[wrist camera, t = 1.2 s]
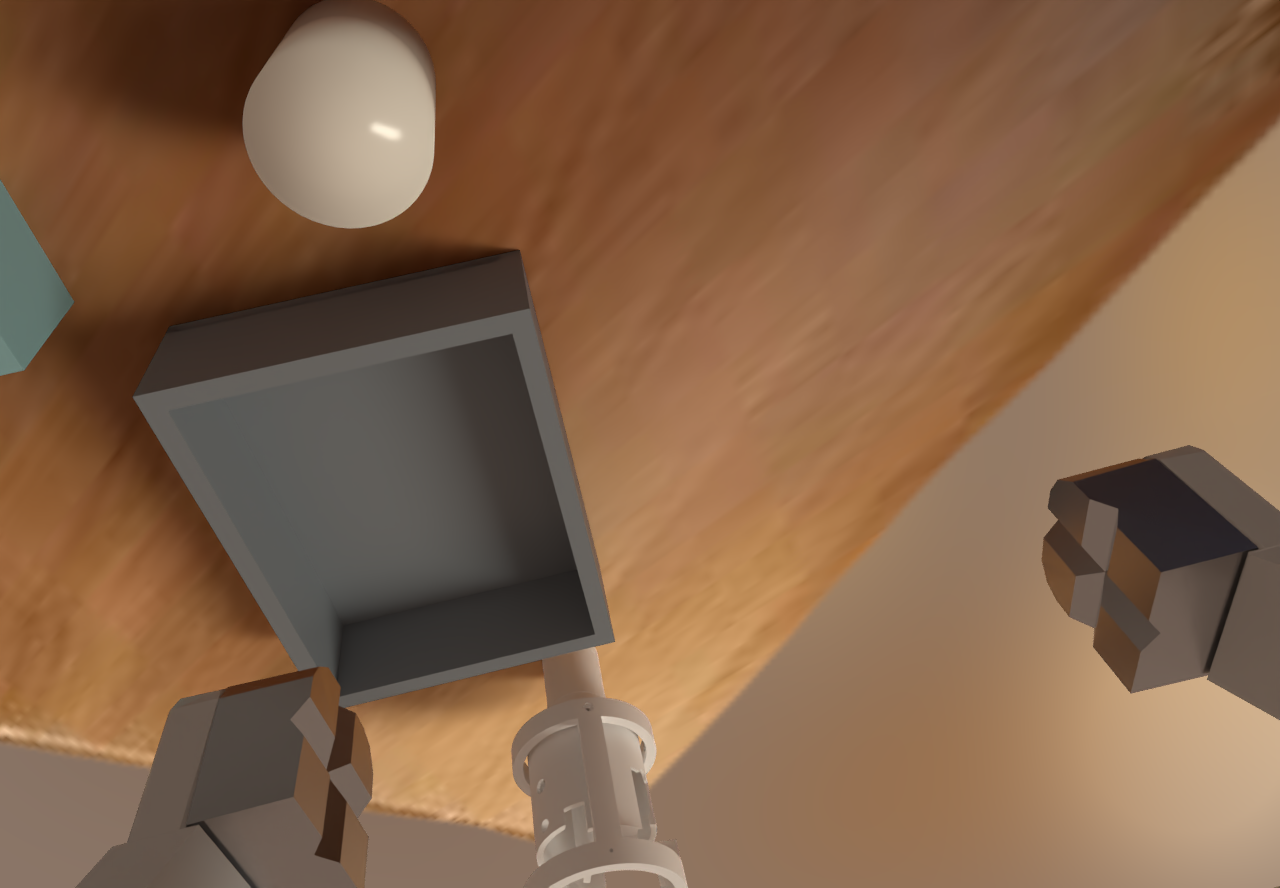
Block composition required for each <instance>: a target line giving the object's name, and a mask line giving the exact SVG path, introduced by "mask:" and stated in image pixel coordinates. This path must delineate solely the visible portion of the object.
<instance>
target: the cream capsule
mask: <svg viewBox="0 0 1280 888" xmlns="http://www.w3.org/2000/svg"><path fill="white" fill-rule="evenodd" d="M435 101H436V78H435V70H434V66H433V62H432V59H431V56H430V53H429V51H428V49H427V47H426V45H425V43H424V41H423V40H422V38H421V37H420V35H419V34H418V32H417V31H416V30H415V29H414V27H413V26H412V25H411V24H410V23H409V22H408V21H407V20H406V19H405V18H403V17H402V16H401V15H400V14H398V13H397V12H396V11H394V10H392V9H391V8H389V7H387V6H386V5H383V4H381V3H379V2H376V1H374V0H323V1H321V2H319V3H316V4H314V5H313V6H311V7H310V8H308V9H307V10H305V11H304V12H303V13H302V14H301V15H300V16H299V17H298V18H297V19H296V21H295V22H294V23H293V24H292V26H291V27H290V29H289V30H288V32H287V33H286V35H285V36H284V38H283V39H282V41H281V42H280V43H279V45H278V46H277V48H276V49H275V51H274V52H273V54H272V55H271V57H270V58H269V60H268V61H267V63H266V64H265V66H264V67H263V69H262V70H261V71H260V73H259V74H258V76H257V77H256V79H255V81H254V82H253V84H252V86H251V88H250V90H249V93H248V95H247V98H246V101H245V106H244V110H243V123H242V125H243V137H244V141H245V146H246V150H247V153H248V156H249V158H250V161H251V163H252V165H253V167H254V169H255V171H256V173H257V174H258V176H259V177H260V179H261V180H262V182H263V183H264V184H265V186H266V187H267V188H268V189H269V190H270V192H271V193H272V194H273V195H274V196H275V197H276V198H278V199H279V200H280V201H281V202H282V203H283V204H285V205H286V206H287V207H289V208H290V209H291V210H293V211H295V212H296V213H298V214H300V215H301V216H303V217H306V218H308V219H310V220H312V221H315V222H318V223H321V224H324V225H328V226H333V227H339V228H363V227H370V226H374V225H378V224H381V223H384V222H386V221H388V220H391V219H393V218H394V217H396V216H398V215H399V214H401V213H402V212H404V211H405V210H406V209H407V208H409V207H410V206H411V205H412V204H413V203H414V201H415V200H416V199H417V198H418V197H419V195H420V194H421V192H422V191H423V189H424V187H425V185H426V183H427V181H428V179H429V176H430V173H431V170H432V165H433V160H434V140H435Z"/></svg>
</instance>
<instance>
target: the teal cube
mask: <svg viewBox="0 0 1280 888" xmlns="http://www.w3.org/2000/svg"><path fill="white" fill-rule="evenodd" d="M73 303H74V301H73V299H72V297H71V296H70V294H69V293H68V291H67V289H66V288H65V286H64V284H63V283H62V281H61V279H60V278H59V276H58V274H57V273H56V271H55V269H54V268H53V266H52V264H51V263H50V261H49V259H48V258H47V256H46V254H45V253H44V251H43V250H42V248H41V246H40V245H39V243H38V241H37V240H36V238H35V236H34V235H33V233H32V231H31V230H30V228H29V226H28V225H27V223H26V221H25V220H24V218H23V216H22V215H21V213H20V211H19V210H18V208H17V207H16V205H15V203H14V202H13V200H12V198H11V197H10V195H9V193H8V192H7V190H6V188H5V187H4V185H3V183H2V182H1V180H0V376H1V375H5V374H10V373H14V372H19V371H23V370H25V368H26V367H27V366H28V364H29V363H30V362H31V360H32V359H33V358H34V356H35V355H36V353H37V352H38V351H39V349H40V348H41V347H42V345H43V344H44V343H45V341H46V340H47V339H48V337H49V336H50V334H51V333H52V332H53V330H54V329H55V328H56V326H57V325H58V324H59V322H60V321H61V320H62V318H63V317H64V316H65V314H66V313H67V311H68V310H69V309H70V307H71V306H72V305H73Z"/></svg>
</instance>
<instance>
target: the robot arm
mask: <svg viewBox="0 0 1280 888" xmlns="http://www.w3.org/2000/svg"><path fill="white" fill-rule="evenodd" d="M1048 509H1049V510H1050V511H1051V512H1052V513H1053V514H1054V516H1055V517H1056V518H1057V519H1058V521H1057V522H1056V523H1055V525H1054V526H1053V527H1052V528H1051V529H1050V531H1049V532H1048V533H1047V534H1046V536H1045V537H1044V539H1043V540H1044V541H1043V551H1042V563H1043V567H1044V571H1045V575H1046V580H1047V583H1048V585H1049V587H1050V589H1051V591H1052V593H1053V595H1054V597H1055V598H1056V600H1057V602H1058V603H1059V604H1060V606H1061V607H1062V608H1063V609H1064V611H1065V612H1066V613H1067V615H1068V616H1069V617H1071V618H1073V619H1075V620H1077V621H1079V622H1082V623H1084V624H1086V625H1089V626H1091V627H1093V628H1094V640H1093V647H1094V649H1095V650H1096V651H1097V652H1098V654H1099V655H1100V656H1101V657H1102V658H1103V660H1104V661H1105V662H1106V663H1107V665H1108V666H1109V667H1110V668H1111V669H1112V671H1113V672H1114V673H1115V675H1116V676H1117V677H1118V678H1119V679H1120V681H1121V682H1122V683H1123V684H1124V686H1125V687H1126V688H1127V689H1128V691H1129V692H1130V693H1135V692H1139V691H1143V690H1148V689H1152V688H1156V687H1160V686H1164V685H1169V684H1173V683H1177V682H1181V681H1185V680H1190V679H1194V678H1198V677H1203V676H1207V675H1208V678H1207V680H1209V681H1211V682H1213V683H1215V684H1216V685H1218V686H1220V687H1222V688H1223V689H1225V690H1227V691H1229V692H1231V693H1232V694H1234V695H1236V696H1238V697H1239V698H1241V699H1243V700H1245V701H1247V702H1248V703H1250V704H1252V705H1254V706H1256V707H1257V708H1259V709H1261V710H1263V711H1264V712H1266V713H1268V714H1270V715H1272V716H1273V717H1275V718H1277V719H1279V720H1280V511H1279V510H1277V509H1276V508H1275V507H1274V506H1272V505H1271V504H1270V503H1269V502H1267V501H1266V500H1265V499H1264V498H1263V497H1261V496H1260V495H1259V494H1258V493H1256V492H1255V491H1253V489H1251V488H1250V487H1249V486H1247V485H1246V484H1245V483H1244V482H1243V481H1241V480H1240V479H1239V478H1238V477H1236V476H1235V475H1234V474H1233V473H1231V472H1230V471H1229V470H1228V469H1226V468H1225V467H1224V466H1223V465H1221V464H1220V463H1219V462H1218V461H1217V460H1215V459H1214V458H1213V457H1212V456H1210V455H1209V454H1208V453H1206V452H1205V451H1204V450H1202V449H1199V448H1196V447H1193V446H1190V445H1188V446H1184V447H1180V448H1177V449H1173V450H1169V451H1165V452H1161V453H1158V454H1154V455H1150V456H1146V457H1144V458H1143V459H1135V460H1131V461H1128V462H1124V463H1120V464H1116V465H1112V466H1109V467H1105V468H1101V469H1097V470H1093V471H1090V472H1086V473H1082V474H1078V475H1074V476H1071V477H1067V478H1063V479H1059V480H1057V482H1056V483H1055V485H1054V486H1053V488H1052V489H1051V491H1050V498H1049V504H1048ZM340 689H341V687H340V685H339V683H338V682H337V680H336V679H335V677H334V676H333V674H332V672H331V671H330V669H329V668H328V667H320V666H319V667H315V668H310V669H306V670H301V671H297V672H293V673H288V674H284V675H279V676H275V677H271V678H266V679H262V680H257V681H253V682H248V683H244V684H240V685H235V686H231V687H228V688H227V689H222V690H218V691H213V692H209V693H204V694H200V695H195V696H191V697H186V698H182V699H180V700H179V701H178V702H177V703H176V704H175V706H174V707H173V708H172V709H171V710H170V712H169V714H168V717H167V720H166V723H165V726H164V730H163V733H162V736H161V739H160V742H159V745H158V748H157V751H156V754H155V758H154V761H153V764H152V767H151V770H150V773H149V776H148V780H147V782H146V786H145V789H144V792H143V795H142V798H141V801H140V804H139V808H138V811H137V814H136V817H135V820H134V823H133V826H132V829H131V832H130V836H129V838H128V841H127V843H124V844H121V845H117V846H114V847H112V848H111V849H110V850H109V851H108V852H107V853H106V854H105V855H104V856H103V858H102V859H101V860H100V861H99V862H98V863H97V864H96V865H95V866H94V868H93V869H92V870H91V871H90V872H89V873H88V874H87V875H86V876H85V878H84V879H83V880H82V881H81V882H80V883H79V884H78V885H77V886H76V887H75V888H364V886H365V874H366V862H367V849H368V838H369V837H368V835H367V833H366V832H365V830H364V829H363V827H362V825H361V824H360V822H359V820H358V819H357V818H358V817H359V816H360V814H361V813H362V811H363V810H364V808H365V807H366V806H367V804H368V803H369V801H370V800H371V798H372V784H373V769H372V761H371V752H370V746H369V743H368V740H367V737H366V734H365V731H364V728H363V726H362V724H361V722H360V720H359V718H358V717H357V715H356V713H354V712H352V711H350V710H347V709H345V708H343V707H340V706H339V698H340ZM1275 888H1280V886H1279V887H1275Z"/></svg>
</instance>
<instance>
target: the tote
mask: <svg viewBox="0 0 1280 888" xmlns="http://www.w3.org/2000/svg"><path fill="white" fill-rule="evenodd" d="M133 398H134V400H135V402H136V403H137V405H138V407H139V408H140V410H141V412H142V413H143V415H144V417H145V418H146V420H147V422H148V423H149V425H150V427H151V428H152V430H153V432H154V433H155V435H156V436H157V438H158V440H159V441H160V443H161V445H162V446H163V448H164V450H165V451H166V453H167V455H168V456H169V458H170V460H171V461H172V463H173V465H174V466H175V468H176V469H177V471H178V473H179V474H180V476H181V478H182V479H183V481H184V483H185V484H186V486H187V488H188V489H189V491H190V493H191V494H192V496H193V498H194V499H195V501H196V503H197V504H198V506H199V507H200V509H201V511H202V512H203V514H204V516H205V517H206V519H207V521H208V522H209V524H210V526H211V527H212V529H213V531H214V532H215V534H216V536H217V537H218V539H219V540H220V542H221V544H222V545H223V547H224V549H225V550H226V552H227V554H228V555H229V557H230V559H231V560H232V562H233V564H234V565H235V567H236V569H237V570H238V572H239V574H240V575H241V577H242V578H243V580H244V582H245V583H246V585H247V587H248V588H249V590H250V592H251V593H252V595H253V597H254V598H255V600H256V602H257V603H258V605H259V607H260V608H261V610H262V611H263V613H264V615H265V616H266V618H267V620H268V621H269V623H270V625H271V626H272V628H273V630H274V631H275V633H276V635H277V636H278V638H279V640H280V641H281V643H282V645H283V646H284V648H285V649H286V651H287V653H288V654H289V656H290V658H291V659H292V661H293V663H294V664H295V666H296V668H297V669H298V671H301V670H306V669H310V668H315V667H319V666H320V667H328V668H329V669H330V671H331V672H332V674H333V676H334V677H335V679H336V680H337V682H338V683H339V685H340V687H341V689H340V698H339V706H340V707H343V708H346V707H350V706H354V705H358V704H362V703H366V702H370V701H375V700H379V699H383V698H387V697H391V696H395V695H399V694H403V693H407V692H411V691H415V690H420V689H424V688H428V687H432V686H436V685H440V684H444V683H448V682H452V681H456V680H460V679H465V678H469V677H473V676H477V675H481V674H485V673H489V672H493V671H497V670H501V669H506V668H510V667H514V666H518V665H522V664H526V663H530V662H534V661H538V660H542V659H546V658H551V657H555V656H559V655H563V654H567V653H571V652H575V651H579V650H583V649H587V648H591V647H596V646H600V645H604V644H608V643H612V642H615V639H614V634H613V629H612V624H611V619H610V614H609V610H608V605H607V600H606V595H605V590H604V585H603V580H602V576H601V571H600V566H599V562H598V558H597V554H596V550H595V546H594V542H593V538H592V534H591V530H590V527H589V523H588V519H587V515H586V511H585V507H584V503H583V499H582V495H581V491H580V487H579V483H578V479H577V475H576V471H575V467H574V463H573V459H572V455H571V451H570V447H569V443H568V439H567V435H566V431H565V427H564V423H563V420H562V416H561V412H560V408H559V404H558V400H557V396H556V392H555V388H554V384H553V380H552V376H551V372H550V368H549V364H548V360H547V356H546V352H545V348H544V344H543V340H542V336H541V332H540V328H539V324H538V320H537V316H536V313H535V309H534V305H533V301H532V297H531V293H530V289H529V285H528V281H527V277H526V273H525V269H524V265H523V261H522V257H521V253H520V250H517V251H513V252H508V253H503V254H499V255H494V256H490V257H485V258H481V259H476V260H471V261H467V262H462V263H458V264H453V265H449V266H444V267H439V268H435V269H430V270H426V271H421V272H417V273H412V274H407V275H403V276H398V277H394V278H389V279H385V280H380V281H375V282H371V283H366V284H362V285H357V286H353V287H348V288H343V289H339V290H334V291H330V292H325V293H321V294H316V295H312V296H307V297H302V298H298V299H293V300H289V301H284V302H280V303H275V304H270V305H266V306H261V307H257V308H252V309H248V310H243V311H238V312H234V313H229V314H225V315H220V316H216V317H211V318H206V319H202V320H197V321H193V322H188V323H184V324H179V325H174V326H170V327H169V328H168V330H167V332H166V334H165V336H164V338H163V340H162V342H161V343H160V345H159V347H158V349H157V351H156V353H155V355H154V357H153V359H152V361H151V363H150V364H149V366H148V368H147V370H146V372H145V374H144V376H143V378H142V380H141V382H140V384H139V386H138V387H137V389H136V391H135V393H134V395H133Z"/></svg>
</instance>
